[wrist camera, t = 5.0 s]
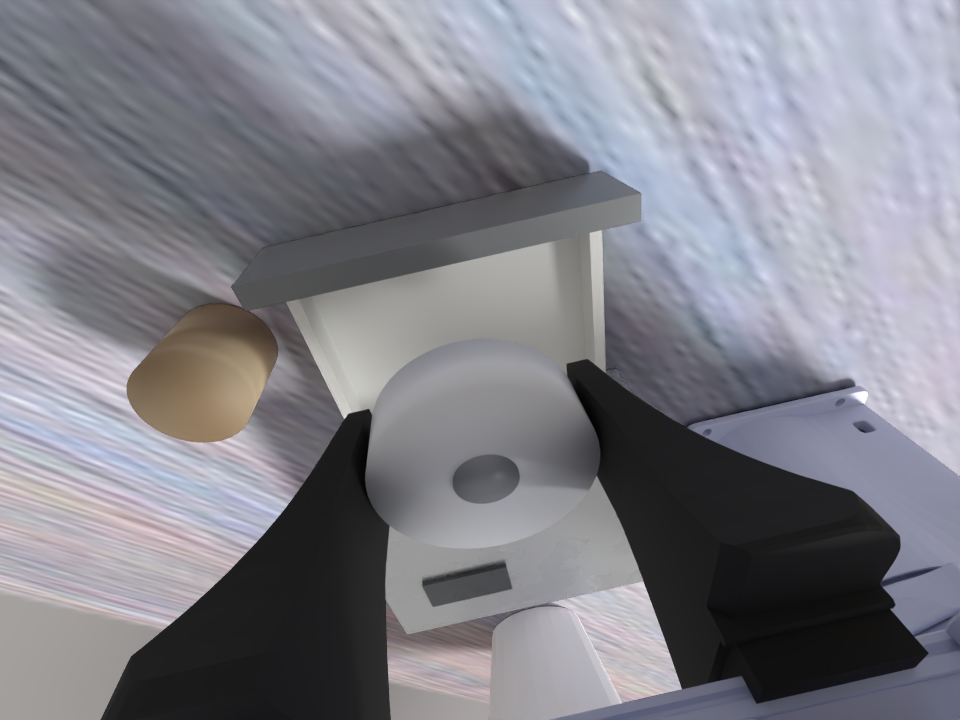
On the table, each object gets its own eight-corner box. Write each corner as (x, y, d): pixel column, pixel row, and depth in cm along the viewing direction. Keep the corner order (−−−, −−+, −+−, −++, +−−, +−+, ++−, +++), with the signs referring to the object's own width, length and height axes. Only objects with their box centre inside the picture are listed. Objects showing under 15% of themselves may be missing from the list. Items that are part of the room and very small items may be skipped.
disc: (584, 469, 13) (606, 522, 12) (408, 513, 14) (407, 571, 12) (567, 314, 10) (594, 358, 9) (336, 371, 10) (323, 426, 9)
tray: (601, 170, 15) (641, 193, 12) (607, 406, 21) (634, 454, 18) (263, 247, 15) (231, 286, 12) (367, 460, 21) (361, 517, 18)
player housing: (616, 368, 20) (660, 434, 17) (617, 512, 26) (650, 583, 23) (342, 431, 20) (326, 510, 17) (408, 560, 26) (407, 638, 23)
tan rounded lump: (251, 294, 16) (216, 344, 13) (292, 371, 18) (270, 429, 15) (156, 315, 16) (100, 370, 13) (208, 390, 18) (170, 452, 15)
